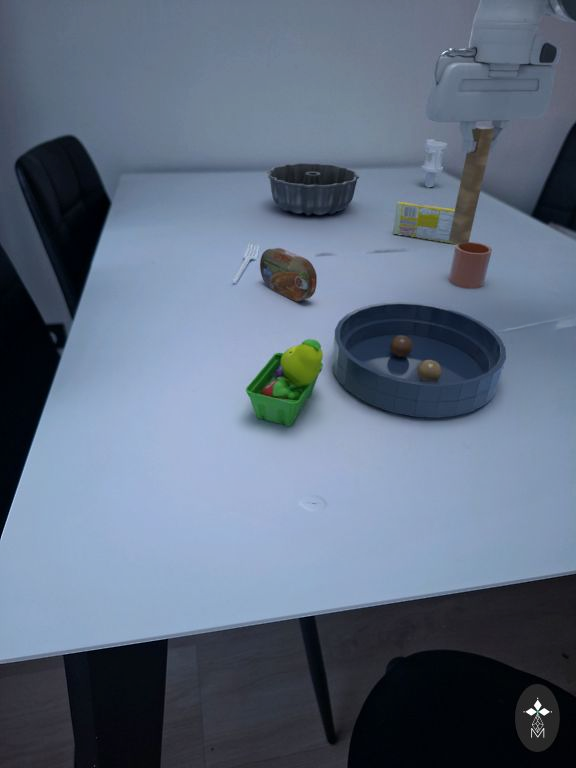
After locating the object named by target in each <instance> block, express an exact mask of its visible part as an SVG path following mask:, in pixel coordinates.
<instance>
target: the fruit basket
mask: <svg viewBox="0 0 576 768" xmlns="http://www.w3.org/2000/svg"><path fill="white" fill-rule="evenodd" d="M321 345H322V344H321V343H320V342H319V341H318V340H316V339H315V338H307V339H305V340H303V341H302V342H301V344H298V345H294V346H292V347H290V348H287V349H286V350H285V351H284V352H276V353H274V354H273V355H272V357H271V358H270V359H269V360H268V362H267V363H265V365H264V366H263V367H262V368H261V370H260V371H259V372H258V373H257V374H256V376H255V377H254V378H253V379H252V380H251V382H250V383H249V384H248V385H247V386H246V388H245V392H246V394H247V396H248V397H249V400H250V403H251V405H252V408H253V411H254V414H255V416H256V418H257V419H259V420H265V421H267V422H271V423H274V424H278V425H284V426H286V427H292V425H293V424H294V422H295V420H296V418H297V417H298V416H299V415H300V413H301V411H302V409H303V408H304V406H305V405H306V403H307V401H308V400H309V398H310V397H311V395H312V394H313V391H314V388H315V386H316V383H317V381H318V378H319V375H320V373H321V372H322V369H323V367H324V363H323V362H322V361H323V357H324V354H323V353H324V352H323V350H322V346H321Z"/></svg>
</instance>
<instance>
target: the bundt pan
mask: <svg viewBox="0 0 576 768" xmlns="http://www.w3.org/2000/svg"><path fill="white" fill-rule="evenodd" d="M267 178H268V179H269V183H270V190H271V195H272V199H273V201H274V203H275V204H276V205H277V206H278V207H280V208H281V209H282V210H283V211H284V212H287V211H292V212H291V213H293V214H295V215H296V214H297V215H300V214H305V216H307V217H309V216H310V215H312V214H314V215H317V216H323V215H325V214H327V213H329V214H328V215H333V214H335V213H336V211H337V212H340V211H342V210H344V209H345V208H346V207H347V206H349V205H350V203H351V202H352V201H353V198H354V196H355V190H356V186H357V182H358V179H360V176H359V175H358V172H357V171H356V170H353V169H350V168H348V167H346V166H340V165H337V164H331V163H320V162H314V163H311V162H296V163H285V164H283V165H278V166H277V165H276V166H274V167H272V168H271V169H269V170H267Z"/></svg>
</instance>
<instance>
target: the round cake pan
mask: <svg viewBox="0 0 576 768" xmlns="http://www.w3.org/2000/svg"><path fill="white" fill-rule="evenodd" d="M335 326H336V327H335V328H334V333H333V334H334V335H333V347H332V358H331V359H332V360H331V361H332V365H331V366H332V370H333V373H334V375H335V379H336V380H337V381H338V382H339V383H340V384H341V386H343V388H344V389H345V390H347V391H348V392H349V393H350V394H352V395H353V396H355V397H356V398H358V399H359V400H361V401H364V402H365V403H367V404H369V405H371V406H373V407H376V408H379V409H382V410H383V411H384V410H385V411H387V412H391V413H393V414H399V415H404V416H405V415H406V416H410V417H417V418H447V417H448V418H449V417H456V416H461V415H464V414H468V413H471V412H472V413H473V412H474V411H476V410H478V409H480V408H482V407H485V405H487V403H488V402H490V401H491V400H492V399H493V398H494V396H495V394H496V392H497V389H498V386H499V384H500V380H501V377H502V373H503V370H504V366H505V363H506V360H507V349H506V346H505V344H504V342H503V340H502V338H501V337H500V336H499V335H498V334H497V333H496V332H495V331H494V329H492V328H491V327H489V326H488V325H486V324H484V323H483V322H481V321H480V320H478V319H476V318H474V317H471V316H469V315H468V314H465V313H462V312H459V311H457V310H455V309H450V308H447V307H443V306H439V305H434V304H428V303H420V302H410V301H409V302H408V301H398V302H397V301H392V302H380V303H375V304H369V305H366V306H363V307H359V308H356V309H355V310H352V311H351V312H348V313H347V314H345V315H344V316H343V317H342V318H341V319H340V320H339V321H338V323H337V324H336V325H335ZM399 335H404V336H407V337H408V338H409V339H410V340H411V342H412V346H413V347H412V351H411V352H410V354H409V355H407V356H405V357H397V356H395V355H394V354H393V353H392V352H391V350H390V343H391V341H392V339H393V338H395V337H396V336H399ZM425 360H434V361H436V362H437V363H439V365H440V366H441V370H442V373H441V376H440V378H439V379H438V380H437V381H436V382H423V381H421V380H420V379H419V377H418V375H417V368H418V366H419V364H420V363H421V362H423V361H425Z"/></svg>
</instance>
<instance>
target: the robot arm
mask: <svg viewBox="0 0 576 768" xmlns="http://www.w3.org/2000/svg"><path fill="white" fill-rule="evenodd" d="M545 15H546V16H549V17H553V18H555V19H556V20H558V21H560V22H566V23H575V24H576V0H479V5H478V8H477V11H476V13H475V15H474V18H473V22H472V27H471V32H470V37H469V42H468V47H459V48H458V47H453V46H451V47H448V48H447V49H446V50H445V51H443V52H442V53H440V55H439V56H438V57H437V58H436V60H435V64H434V71H433V77H432V79H431V83H430V87H429V90H428V95H427V99H426V103H425V109H424V113H425V115H426V117H427V119H428V120H430V121H432V122H436V123H459V126H458V128H459V132H460V135H461V138H462V144H461V149H460V150H461V153H464V154H466V153H475V151H476V147H477V143H478V141H476V140H474V139H473V133H472V129H475V127H477V122H491V123H490V125H491V127H492V128H493V129H494V132H493V137H492V141H491V146H490V150H489V153H495V151H497V146H498V141H500V139H501V138H502V136H503V135H504V134H505V132H506V131H507V129H508V126H509V123H510V122H509V121H526V120H541V118H543V116H544V115H545V113H546V112H547V111H548V108H549V105H550V101H551V98H552V94H553V90H554V85H555V81H556V69H555V67H554V66H555V65H557V64H558V63H559V61H560V59H561V55H562V52H563V51H562V48H561V46H559V45H557V44H555V43H553V41H550V40H548V39H547V38H545V37H543V36H542V35H541V34H538V31H539V27H540V23H541V20H542V18H543V17H544V16H545Z"/></svg>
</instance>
